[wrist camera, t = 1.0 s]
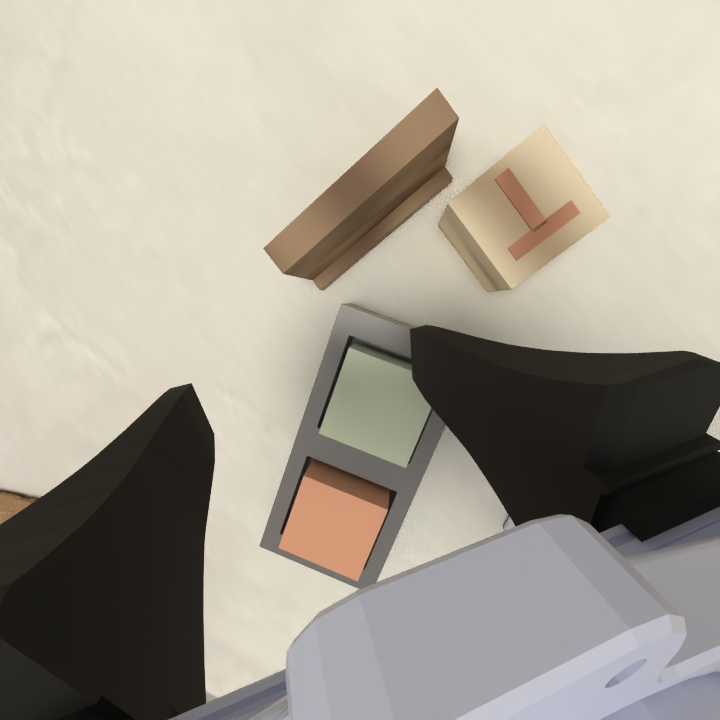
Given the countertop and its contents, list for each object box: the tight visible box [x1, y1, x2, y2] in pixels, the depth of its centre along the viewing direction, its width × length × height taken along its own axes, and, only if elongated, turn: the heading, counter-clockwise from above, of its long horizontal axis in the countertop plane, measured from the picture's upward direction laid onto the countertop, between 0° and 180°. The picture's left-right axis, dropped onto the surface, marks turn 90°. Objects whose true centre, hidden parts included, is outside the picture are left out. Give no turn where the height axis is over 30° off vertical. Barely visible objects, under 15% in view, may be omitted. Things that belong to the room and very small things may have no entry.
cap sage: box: [319, 342, 431, 468], centre depth 19 cm, size 5×5×2 cm
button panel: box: [260, 304, 446, 589], centre depth 22 cm, size 8×17×3 cm, turn 160°
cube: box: [438, 123, 610, 292], centre depth 18 cm, size 5×5×5 cm
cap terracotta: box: [278, 459, 390, 581], centre depth 21 cm, size 5×5×2 cm
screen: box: [263, 88, 459, 290], centre depth 18 cm, size 10×3×6 cm, turn 128°
